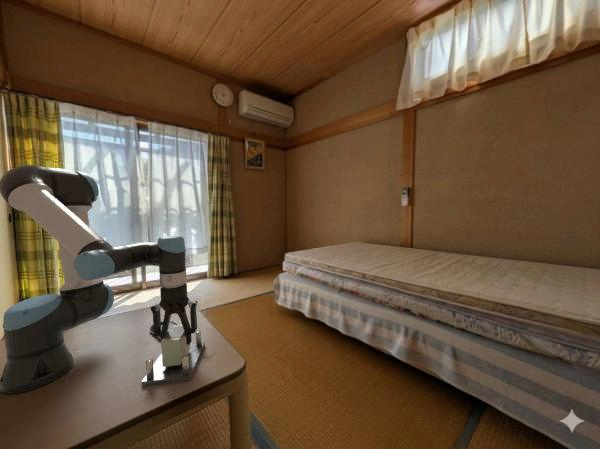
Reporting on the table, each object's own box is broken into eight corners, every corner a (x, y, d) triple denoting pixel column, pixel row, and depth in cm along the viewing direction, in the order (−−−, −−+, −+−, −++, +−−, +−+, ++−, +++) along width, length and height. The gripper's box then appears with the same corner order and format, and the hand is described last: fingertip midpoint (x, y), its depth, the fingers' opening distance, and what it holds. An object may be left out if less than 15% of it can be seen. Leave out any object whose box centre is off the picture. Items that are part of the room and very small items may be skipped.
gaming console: (146, 331, 99) (146, 325, 99) (169, 323, 106) (169, 317, 106) (167, 348, 87) (166, 341, 87) (191, 337, 94) (190, 331, 94)
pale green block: (162, 366, 72) (161, 341, 71) (174, 347, 81) (173, 325, 81) (180, 364, 72) (179, 339, 72) (190, 346, 82) (189, 323, 82)
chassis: (141, 386, 67) (140, 364, 67) (166, 349, 85) (165, 332, 85) (190, 381, 69) (189, 359, 69) (204, 346, 87) (204, 329, 87)
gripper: (136, 290, 70) (141, 365, 72) (200, 286, 73) (203, 358, 75) (148, 282, 78) (152, 350, 79) (206, 279, 81) (208, 345, 82)
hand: (177, 354), depth 77 cm, fingers closed on pale green block, 5 cm apart
